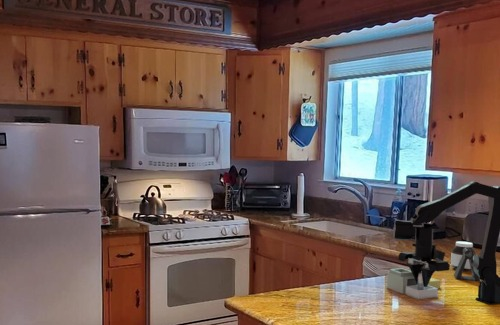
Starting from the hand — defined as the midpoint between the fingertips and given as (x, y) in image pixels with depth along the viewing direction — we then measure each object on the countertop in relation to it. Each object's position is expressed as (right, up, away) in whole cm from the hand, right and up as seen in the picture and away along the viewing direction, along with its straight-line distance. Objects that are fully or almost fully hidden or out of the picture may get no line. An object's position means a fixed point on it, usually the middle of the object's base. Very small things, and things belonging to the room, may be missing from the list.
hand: (422, 285), depth 175 cm
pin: (0, -2, 0) cm, 2 cm away
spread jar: (+33, -4, +47) cm, 57 cm away
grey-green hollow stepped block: (-4, -3, +8) cm, 9 cm away
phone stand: (+28, -4, +28) cm, 39 cm away
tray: (0, -4, 0) cm, 4 cm away
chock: (+7, -4, +13) cm, 15 cm away
